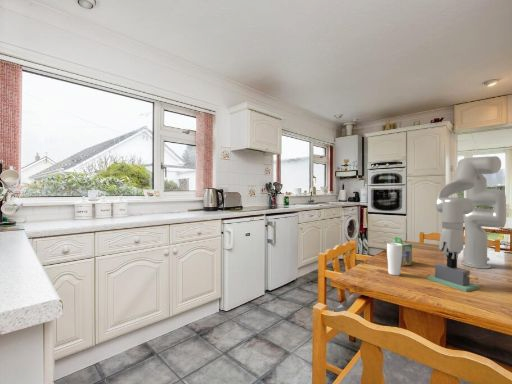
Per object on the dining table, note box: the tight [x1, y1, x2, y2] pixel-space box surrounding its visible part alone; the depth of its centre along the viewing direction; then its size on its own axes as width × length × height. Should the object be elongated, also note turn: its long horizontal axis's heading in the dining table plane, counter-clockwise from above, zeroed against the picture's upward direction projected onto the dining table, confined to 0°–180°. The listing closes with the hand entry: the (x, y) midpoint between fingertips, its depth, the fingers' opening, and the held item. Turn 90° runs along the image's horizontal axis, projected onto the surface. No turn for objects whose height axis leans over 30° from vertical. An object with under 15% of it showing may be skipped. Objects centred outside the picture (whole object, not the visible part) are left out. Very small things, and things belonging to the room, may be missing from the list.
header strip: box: [426, 274, 480, 292], centre depth 116 cm, size 9×16×5 cm, turn 23°
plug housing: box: [434, 263, 479, 286], centre depth 114 cm, size 5×16×6 cm, turn 23°
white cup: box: [386, 242, 402, 277], centre depth 129 cm, size 7×7×15 cm
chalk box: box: [386, 236, 413, 267], centre depth 147 cm, size 9×9×15 cm
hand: (451, 267), depth 116 cm, fingers closed
